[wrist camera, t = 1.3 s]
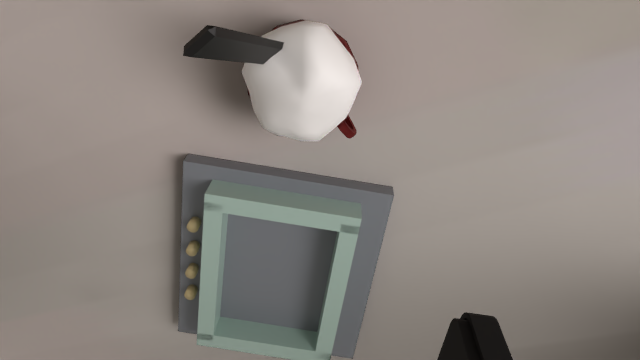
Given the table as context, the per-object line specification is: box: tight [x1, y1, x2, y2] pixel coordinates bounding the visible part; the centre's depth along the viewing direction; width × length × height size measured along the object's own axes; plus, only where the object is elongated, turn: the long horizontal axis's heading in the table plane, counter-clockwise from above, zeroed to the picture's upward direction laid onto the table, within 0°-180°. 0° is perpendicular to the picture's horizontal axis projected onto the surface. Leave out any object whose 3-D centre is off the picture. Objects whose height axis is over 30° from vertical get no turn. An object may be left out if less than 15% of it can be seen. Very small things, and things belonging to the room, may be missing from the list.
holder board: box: [178, 154, 394, 360], centre depth 35 cm, size 14×15×3 cm
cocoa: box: [183, 20, 362, 141], centre depth 25 cm, size 10×6×12 cm, turn 17°
